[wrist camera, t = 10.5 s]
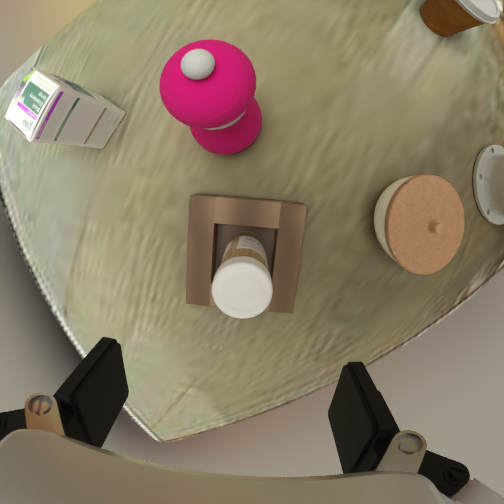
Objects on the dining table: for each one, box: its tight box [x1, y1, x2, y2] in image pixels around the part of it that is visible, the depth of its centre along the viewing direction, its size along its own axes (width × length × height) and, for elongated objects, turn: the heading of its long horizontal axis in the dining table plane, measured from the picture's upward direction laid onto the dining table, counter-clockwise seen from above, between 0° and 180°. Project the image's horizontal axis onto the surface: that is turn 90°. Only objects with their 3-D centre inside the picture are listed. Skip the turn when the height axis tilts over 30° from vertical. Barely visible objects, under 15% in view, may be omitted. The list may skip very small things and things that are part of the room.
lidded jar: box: [374, 174, 465, 275], centre depth 28 cm, size 11×11×9 cm
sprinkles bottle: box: [212, 231, 273, 319], centre depth 27 cm, size 5×5×13 cm
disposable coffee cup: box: [420, 0, 500, 37], centre depth 19 cm, size 10×10×12 cm
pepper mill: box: [160, 40, 262, 154], centre depth 21 cm, size 7×7×20 cm
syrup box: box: [5, 67, 126, 149], centre depth 23 cm, size 6×6×14 cm
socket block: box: [186, 194, 307, 313], centre depth 32 cm, size 12×12×4 cm
